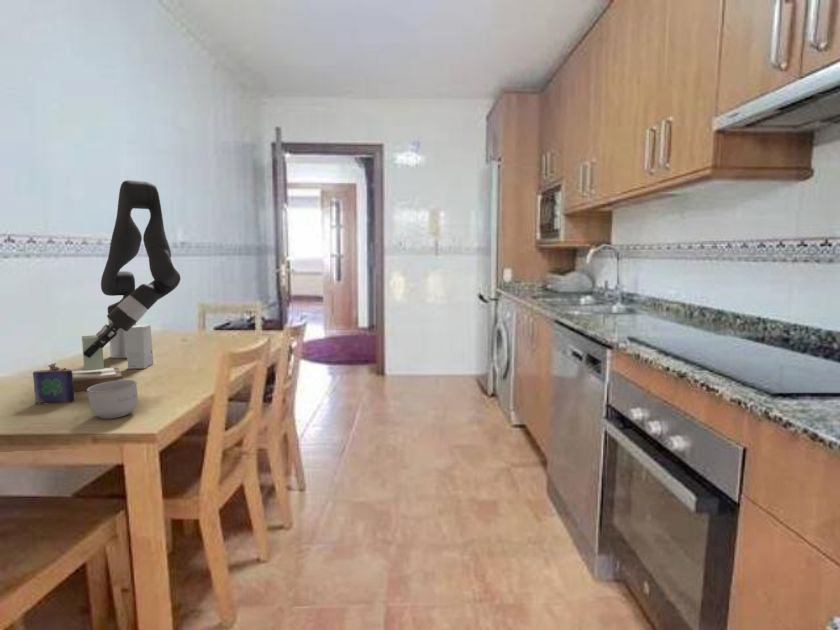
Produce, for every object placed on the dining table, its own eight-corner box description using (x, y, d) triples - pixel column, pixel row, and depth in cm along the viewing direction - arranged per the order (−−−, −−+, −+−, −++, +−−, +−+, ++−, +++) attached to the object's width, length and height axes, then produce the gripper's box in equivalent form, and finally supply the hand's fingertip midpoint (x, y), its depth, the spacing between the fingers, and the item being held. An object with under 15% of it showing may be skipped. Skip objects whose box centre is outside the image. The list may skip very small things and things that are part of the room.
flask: (33, 404, 138) (30, 365, 137) (39, 401, 141) (36, 363, 139) (71, 403, 140) (69, 364, 139) (76, 400, 143) (74, 362, 141)
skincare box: (144, 368, 181) (142, 327, 179) (126, 369, 180) (124, 327, 178) (153, 363, 189) (151, 323, 187) (136, 364, 188) (134, 324, 187)
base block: (67, 382, 161) (66, 371, 161) (118, 376, 169) (117, 365, 169) (68, 392, 150) (67, 380, 150) (123, 385, 158) (122, 374, 158)
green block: (84, 367, 160) (81, 336, 159) (102, 366, 163) (100, 334, 161) (84, 370, 156) (82, 338, 155) (104, 368, 159) (101, 336, 157)
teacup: (126, 421, 125) (124, 389, 124) (79, 422, 124) (77, 390, 123) (151, 405, 139) (149, 376, 138) (109, 405, 138) (107, 376, 137)
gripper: (115, 303, 167) (73, 343, 161) (120, 307, 155) (75, 350, 150) (135, 318, 171) (95, 358, 165) (140, 323, 159) (97, 366, 153)
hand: (85, 354), depth 158 cm, fingers closed on green block, 5 cm apart
